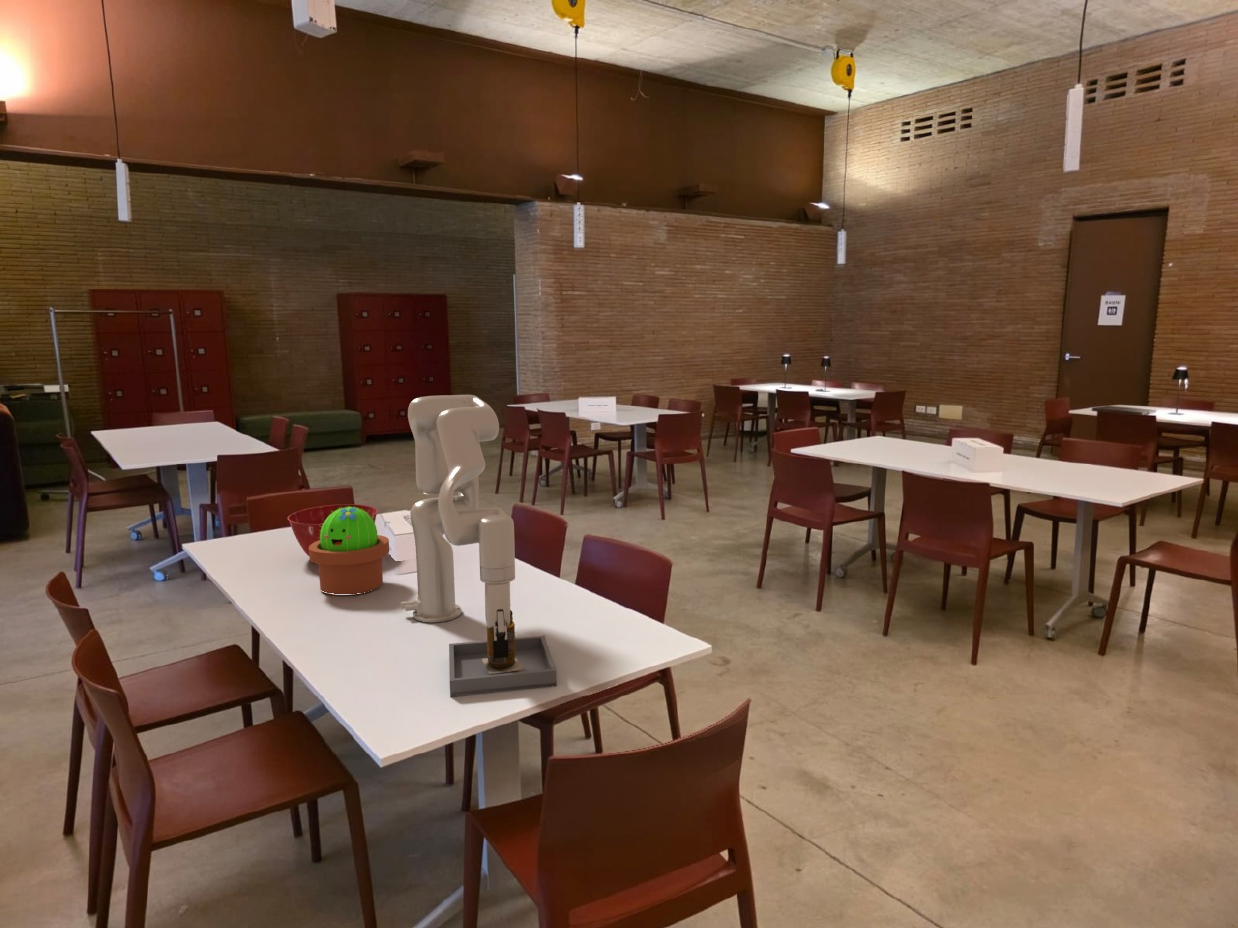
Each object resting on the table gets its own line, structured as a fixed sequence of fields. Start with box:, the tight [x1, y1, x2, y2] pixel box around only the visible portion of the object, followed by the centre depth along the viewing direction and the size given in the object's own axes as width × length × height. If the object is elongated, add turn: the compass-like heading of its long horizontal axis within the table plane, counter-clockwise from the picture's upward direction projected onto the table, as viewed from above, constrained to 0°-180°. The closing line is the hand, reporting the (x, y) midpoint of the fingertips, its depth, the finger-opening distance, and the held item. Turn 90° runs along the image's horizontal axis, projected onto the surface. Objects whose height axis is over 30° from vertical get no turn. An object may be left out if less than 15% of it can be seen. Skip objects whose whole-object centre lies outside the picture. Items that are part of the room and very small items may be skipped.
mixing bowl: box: [287, 503, 379, 557], centre depth 259 cm, size 28×28×16 cm
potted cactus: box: [308, 506, 390, 594], centre depth 227 cm, size 22×22×25 cm
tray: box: [448, 635, 558, 698], centre depth 169 cm, size 22×20×4 cm
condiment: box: [482, 609, 522, 674], centre depth 168 cm, size 7×8×12 cm
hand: (499, 650), depth 169 cm, fingers closed on condiment, 6 cm apart
